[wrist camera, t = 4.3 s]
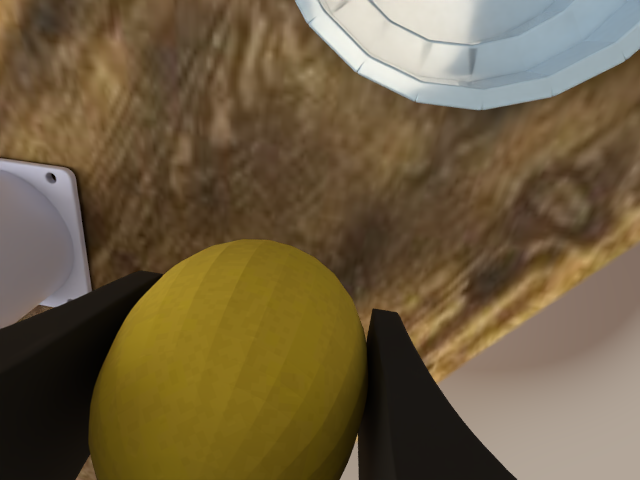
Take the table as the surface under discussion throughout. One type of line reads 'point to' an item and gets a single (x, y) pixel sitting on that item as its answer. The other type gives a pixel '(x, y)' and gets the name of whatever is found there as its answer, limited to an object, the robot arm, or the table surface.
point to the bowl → (477, 45)
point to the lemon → (233, 372)
